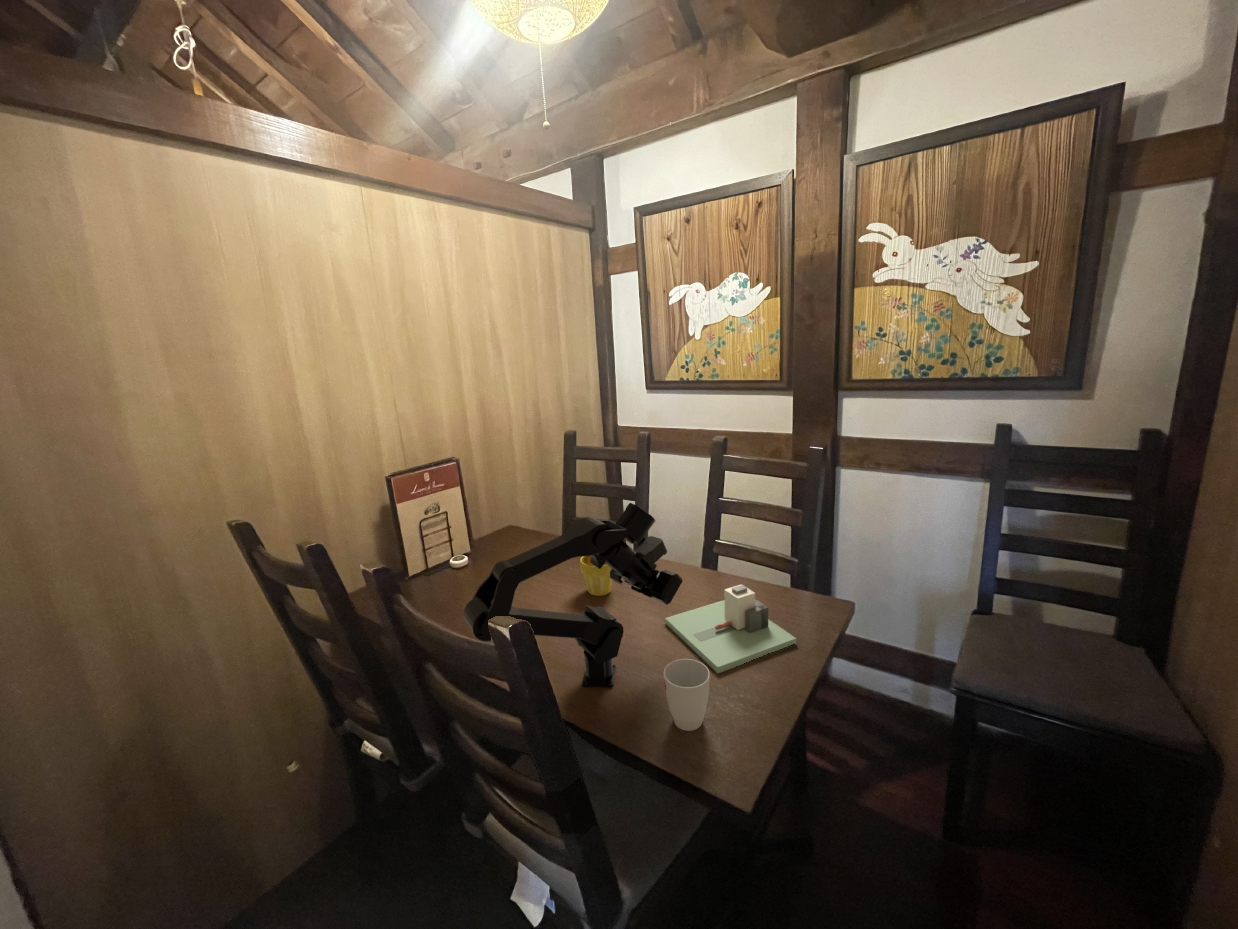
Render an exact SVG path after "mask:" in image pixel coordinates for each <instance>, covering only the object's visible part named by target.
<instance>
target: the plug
mask: <svg viewBox="0 0 1238 929" xmlns="http://www.w3.org/2000/svg"><path fill="white" fill-rule="evenodd" d="M723 591H724V595H723V596H724V597H723V598H724V599H723V600H724V604H725V621H727V622H725V623H722V624H719V625H716V626H715V629H716V630H719V629H722V628H725V627H728V626H731V625H732V626H733V627H734V628H736V629H737V630H739V629H742V628H745V627H746V610H749V609H752V608H755V599H756V592H754V591H753V590H751V589H750V588H748V587H747V586H745V585H743V584H737V585H733V586H731V587H727V588H725V589H724V590H723Z"/></svg>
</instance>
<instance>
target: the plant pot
mask: <svg viewBox="0 0 1238 929" xmlns="http://www.w3.org/2000/svg"><path fill="white" fill-rule="evenodd" d="M590 560H591V556H583V557H580V559H579V567H580V571H581V574H582V575H583V577H584V581H585V583H586V588H587V592H588V593H589V594H590V595H592V596H595V597H601V596H606V595H609V594H610V593H611V592H612V590H613V584H614V580H612V579H611V578H610V571H611V569H612V568H611V567H610V566H608V565H607V564H606V563H605V564H604V565H603V566H602V568H601V569H598V568H597V567H595V566H594V565H592V564H591V563H590Z"/></svg>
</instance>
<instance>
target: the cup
mask: <svg viewBox="0 0 1238 929" xmlns="http://www.w3.org/2000/svg"><path fill="white" fill-rule="evenodd" d="M663 680H664V689H665V696H666V700H667V701H666V702H667V703H668V709H669V712H670V715H671V717H672V720H673V722H674V725H675V726H676V727H677V728H678V729H680V730H683V731H685V732H687V731H688V732H692V731H696V730H697V729H699V728H701V726H702V724H703V721H704V717H705V715H706V713H707V706H708V702H709V697H710V696H709V695H710V670H709V668H708V666H706V665H705V664H704V663H703V662H701V661H699V660H696V659H690V658H679V659H676V660H673V661H671V662H669V663H668V664H667V665H666V666H665V667H664V669H663Z"/></svg>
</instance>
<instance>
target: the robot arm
mask: <svg viewBox="0 0 1238 929" xmlns="http://www.w3.org/2000/svg"><path fill="white" fill-rule="evenodd" d="M655 522H656V519H655V518H654V517H653V516H652V514H650V513H648V512H646V511H645V510H643V509H642V508H641V507H639V506H638V505H637V504H636V503H632V502H629V503H628V505H627V506H626V508H625V509H624V511H623V512H622V513H621V515H620V516H619V518H618V519H617V520H616V521H615V522H613V521H611V520H609V519H600V520H599V519H597V518H595V517H593V516H584V517H582V518H581V519H579V520H578V521H576V522H575V523H573V524H572V525H570V526H569V528H567V530H566V531H565V532H564V533H563V534H561V535H560V536H558V537H556V538H553V539H551V540H549V541H547V542H544V543H542V544H540V545H537V546H536V547H533V548H531V549H529V550H526V551H524V552H522V553H519V554H517V555H515V556H512V557H510V558H508V559H506V560H505V559H504V560H500V561H498V562H496V563H495V564H494V565H493V568H492V569H491V572H490V573H489V575H488V576H487V577H486V578H485V580H483V581H482V583H480V585H479V586H478V588H477V589H476V592H475V593H474V595H473V597H472V599H471V600H469V601H468V603H467V604H466V605H465V606H464V609H463V620H464V621H465V622H466V624H467V626H468V627H469V629H470V630H471V632H472V633H473V636H475V638H476V639H477V640H478V641H480V642H484V643H485V642H492V641H491V635H490V632H489V628H488V620H489V619H491V618H493V617H495V616H511V617H514V618H516V619H522V620H526V621H528V622H529V623H530V624H531V627H532V629H533V631H534V635H533V636H538V637H553V638H568V639H575V642H576V643H577V645H578V646H579V647H580V648H581V649H582V650H583V658H584V660H583V661H584V673H583V677H582V681H581V686H582V687H613V686H614V684H615V683H614V682H615V678H616V672H617V665H615V664H613V659H614V658H616V657H618V655H619V652H620V647H621V642H622V638H623V636H624V626H623V624H622V623H620V622H619V621H618V620H617V618H616V617H615V616H613V615H612V614H611V613H610V612H609V611H608V610H606V609H605V608H603V607H602V606H601V605H598V606H592V605H589V604H586V605H585V608H584V611H583V612H581V613H578V614H577V613H570V612H569V613H568V612H567V613H566V612H557V611H549V610H538V609H530V608H529V609H528V608H521V607H520V608H519V607H515V606H513V603H514V602H513V601H514V597H515V594H516V593H515V592H516V590H517V588H518V586H519V585H520V583H522V582H524V581H526V580H528V579H531V578H533V577H535V576H537V575H539V574H541V573H544V572H546V571H548V570H550V569H552V568H554V567H557V566H558V565H560V564H563V563H565V562H566V561H567V562H568V560H571V559H575V558H579V557H580V558H581V557H583V556H591V560H590V563H591V564H592V565H594V566H595V567H597V568H598V569H601V568H602V566H603V565H604V564H605V563H606V564H607V565H608V566H610V567H611V568H612V569H611V571H610V578H611V579H612V580H613V582H615V583H617V584H620V585H622V584H624V583H625V584H627V585H630V588H631V590H632V591H634V592H637V593H639V594H642V595H643V596H646V597H648V598H651V599H654V600H656V601H658V602H659V603H661V604H663V605H666V606H668V605H670V604H671V603H672V600H673V599H674V598H675V596H676V594H677V592H678V590H679V589H680V587H681V585H682V583H683V578H682V577H681V576H680V575H679V574H678V573H676V572H673V571H671V570H667V569H664V570H662V571H661V570H658V569H657V567H658V565H657V564H656V562H658V561H659V560H661V558H662V557H663V556H665V555H667V553H668V550H667V547H666V545H665V543H664V541H663V539H662V538H659V537H657V536H654V535H653V536H652V535H649V536H648V535H647V533H648V532H649V531H650V529H651V528H652V527H653V525H654V524H655ZM624 540H625V541H626V542H627V543H626V542H625V541H624ZM628 543H629V544H631V545H633V548H634V549H632V548H631V546H630V545H628ZM622 579H624V581H623V580H622Z"/></svg>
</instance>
